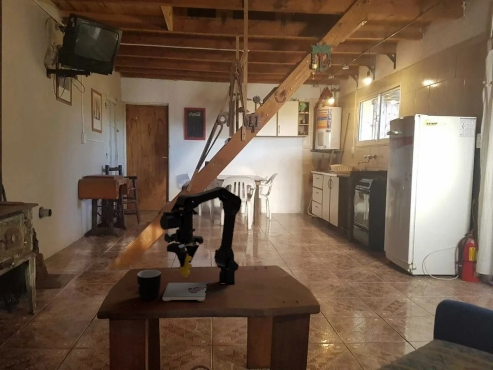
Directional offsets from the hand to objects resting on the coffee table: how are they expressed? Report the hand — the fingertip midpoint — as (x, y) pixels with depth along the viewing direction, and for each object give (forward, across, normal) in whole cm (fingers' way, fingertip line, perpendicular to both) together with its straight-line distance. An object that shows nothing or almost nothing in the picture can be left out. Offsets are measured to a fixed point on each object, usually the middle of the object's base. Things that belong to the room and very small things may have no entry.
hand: (185, 264), depth 146 cm
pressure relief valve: (+5, 0, -2) cm, 6 cm away
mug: (+13, +11, -10) cm, 19 cm away
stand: (+12, 0, 0) cm, 12 cm away
